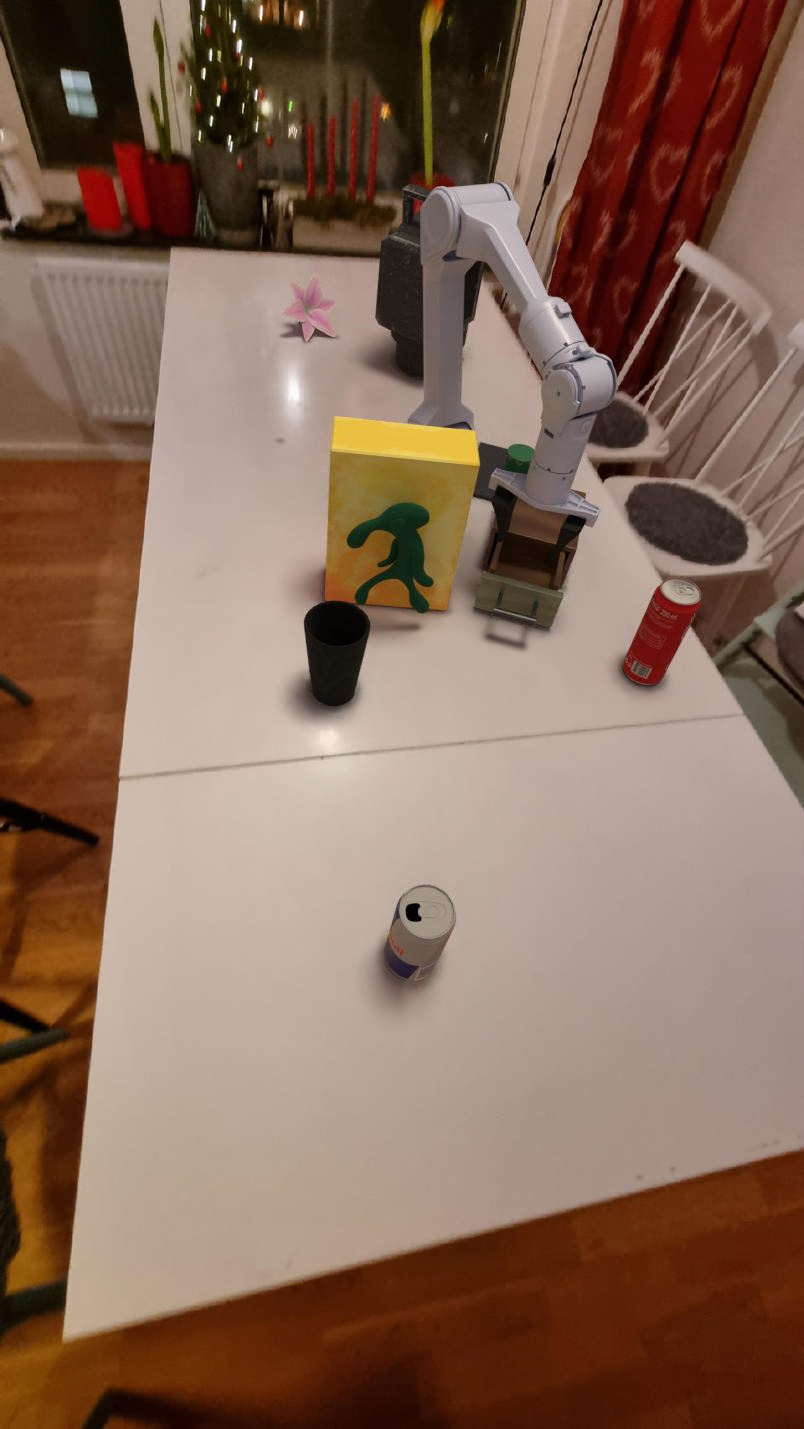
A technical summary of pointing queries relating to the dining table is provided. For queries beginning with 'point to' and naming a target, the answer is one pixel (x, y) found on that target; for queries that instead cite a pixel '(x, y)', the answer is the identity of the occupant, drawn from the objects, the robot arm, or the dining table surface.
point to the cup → (335, 649)
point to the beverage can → (662, 630)
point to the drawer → (522, 583)
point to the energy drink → (419, 932)
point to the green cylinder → (518, 458)
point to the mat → (488, 468)
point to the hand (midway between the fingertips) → (527, 548)
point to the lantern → (412, 287)
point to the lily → (311, 307)
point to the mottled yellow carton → (397, 511)
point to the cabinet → (534, 531)
